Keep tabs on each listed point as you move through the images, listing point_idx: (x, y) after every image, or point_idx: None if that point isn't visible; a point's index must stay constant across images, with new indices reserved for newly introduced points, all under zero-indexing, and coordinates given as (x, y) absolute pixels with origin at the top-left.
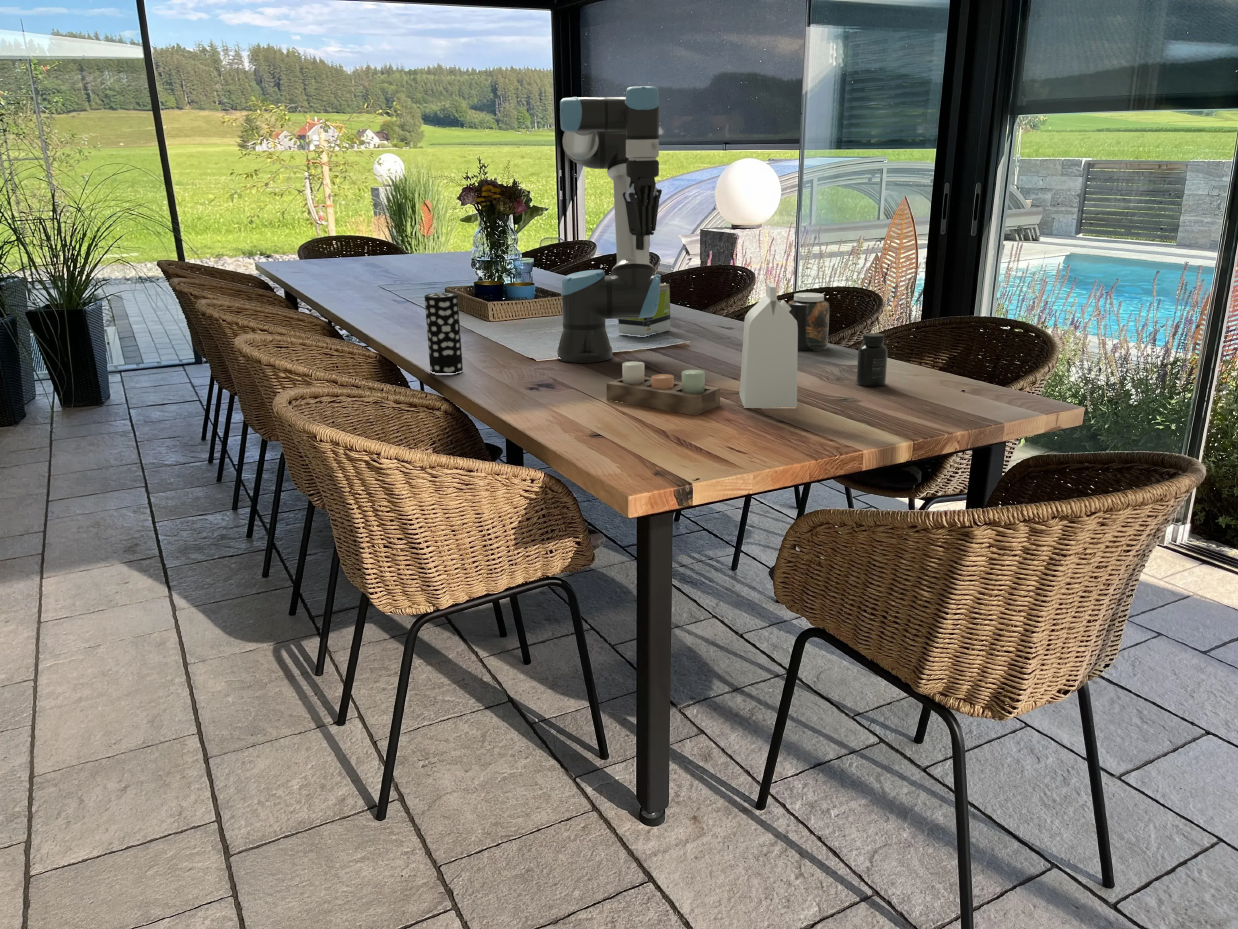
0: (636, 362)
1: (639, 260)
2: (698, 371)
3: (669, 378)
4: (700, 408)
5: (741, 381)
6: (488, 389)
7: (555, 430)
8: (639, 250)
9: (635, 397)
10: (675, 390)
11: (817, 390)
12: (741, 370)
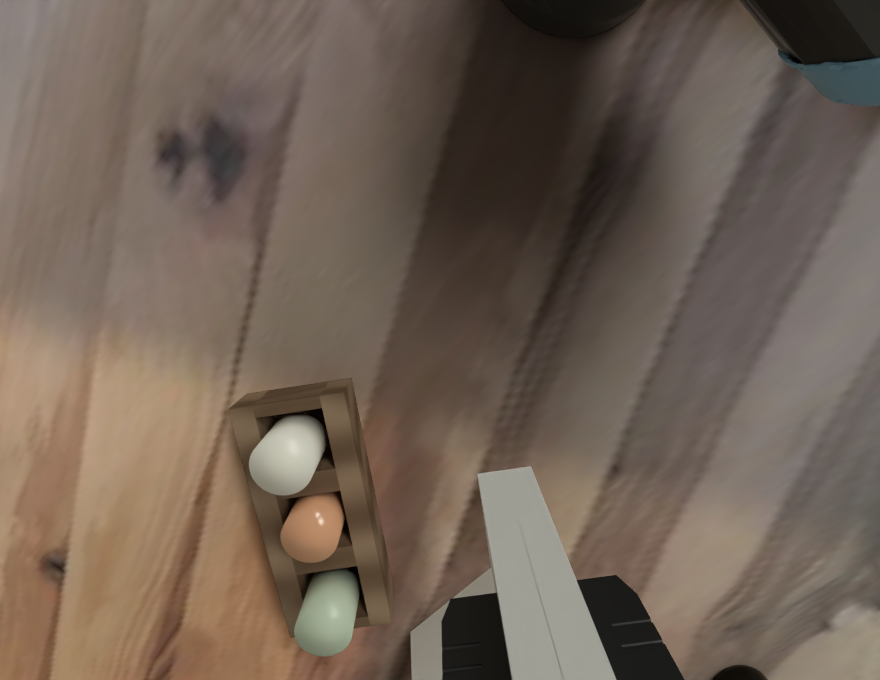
0: (300, 461)
1: (484, 519)
2: (339, 635)
3: (307, 560)
4: None
5: None
6: (62, 50)
7: (5, 488)
8: (496, 590)
9: None
10: (302, 572)
11: None
12: None
